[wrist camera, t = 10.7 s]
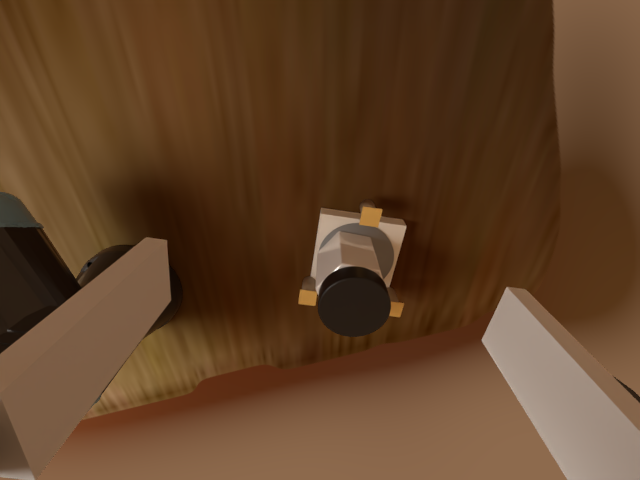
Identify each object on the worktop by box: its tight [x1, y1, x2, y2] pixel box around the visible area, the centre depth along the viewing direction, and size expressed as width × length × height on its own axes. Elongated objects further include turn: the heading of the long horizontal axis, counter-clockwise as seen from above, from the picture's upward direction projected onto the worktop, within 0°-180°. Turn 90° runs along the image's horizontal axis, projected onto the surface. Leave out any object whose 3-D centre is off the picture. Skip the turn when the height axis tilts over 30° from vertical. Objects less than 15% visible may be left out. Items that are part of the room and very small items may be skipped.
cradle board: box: [298, 199, 407, 317], centre depth 45 cm, size 15×16×7 cm
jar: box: [315, 231, 391, 337], centre depth 40 cm, size 9×8×12 cm
